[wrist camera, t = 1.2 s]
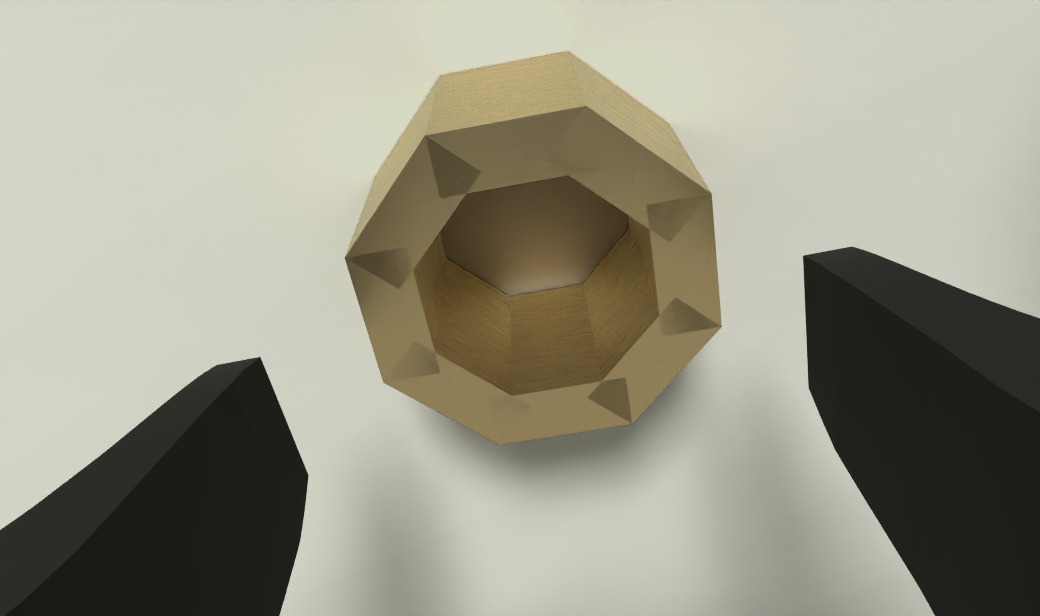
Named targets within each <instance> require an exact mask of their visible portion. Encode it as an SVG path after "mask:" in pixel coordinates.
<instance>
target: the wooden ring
mask: <svg viewBox="0 0 1040 616" xmlns="http://www.w3.org/2000/svg"><path fill="white" fill-rule="evenodd" d="M568 175H569V176H570V177H572V178H573V179H575V180H576V181H578V182H579V183H581V184H582V185H584V186H585V187H587V188H588V189H590V190H591V191H593V192H594V193H596V194H597V195H599V196H600V197H602V198H603V199H605V200H606V201H608V202H609V203H611V204H612V205H614V206H615V207H617V208H618V209H620V210H621V211H623V212H624V213H626V214H627V215H628V220H629V228H628V230H627V231H626V232H625V233H624V234H623V236H622V237H621V238H620V239H619V241H618V242H617V243H616V244H615V246H614V247H613V248H612V249H611V250H610V252H609V253H608V254H607V255H606V257H605V258H604V259H603V260H602V262H601V263H600V264H599V265H598V267H597V268H596V269H595V270H594V271H593V273H592V274H591V275H590V276H589V278H588V279H587V280H586V281H585V283H584V284H581V285H575V286H569V287H563V288H557V289H551V290H545V291H540V292H534V293H528V294H522V295H516V296H508V295H506V294H505V293H503V292H501V291H500V290H498V289H496V288H495V287H493V286H491V285H490V284H488V283H486V282H485V281H483V280H481V279H480V278H478V277H476V276H475V275H473V274H471V273H470V272H468V271H466V270H465V269H463V268H461V267H460V266H458V265H456V264H455V263H453V262H451V261H450V260H448V259H447V257H446V253H445V249H444V245H443V241H442V236H441V232H440V231H441V229H442V228H443V227H444V225H445V224H446V222H447V221H448V219H449V218H450V217H451V215H452V214H453V212H454V211H455V209H456V208H457V207H458V205H459V204H460V202H461V201H462V199H463V198H464V197H465V195H466V194H467V193H473V192H478V191H484V190H489V189H495V188H500V187H506V186H512V185H517V184H523V183H528V182H534V181H540V180H545V179H551V178H556V177H562V176H568ZM345 260H346V263H347V267H348V270H349V273H350V276H351V280H352V283H353V286H354V289H355V292H356V296H357V299H358V302H359V305H360V309H361V312H362V315H363V318H364V321H365V325H366V328H367V331H368V334H369V338H370V341H371V344H372V347H373V350H374V354H375V357H376V360H377V363H378V367H379V370H380V373H381V376H382V379H383V383H385V384H387V385H389V386H391V387H393V388H395V389H396V390H398V391H400V392H402V393H404V394H406V395H408V396H409V397H411V398H413V399H415V400H417V401H419V402H421V403H422V404H424V405H426V406H428V407H430V408H432V409H434V410H435V411H437V412H439V413H441V414H443V415H445V416H447V417H448V418H450V419H452V420H454V421H456V422H458V423H460V424H461V425H463V426H465V427H467V428H469V429H471V430H473V431H475V432H476V433H478V434H480V435H482V436H484V437H486V438H488V439H489V440H491V441H493V442H495V443H497V444H499V445H502V444H508V443H515V442H521V441H527V440H534V439H540V438H546V437H553V436H559V435H565V434H572V433H578V432H584V431H591V430H597V429H603V428H610V427H616V426H622V425H629V424H633V423H634V422H635V420H636V419H637V418H638V417H639V416H640V415H641V414H642V413H643V412H644V411H645V410H646V409H647V407H648V406H649V405H650V404H651V403H652V402H653V401H654V400H655V399H656V398H657V397H658V395H659V394H660V393H661V392H662V391H663V390H664V389H665V388H666V387H667V386H668V385H669V384H670V382H671V381H672V380H673V379H674V378H675V377H676V376H677V375H678V374H679V373H680V372H681V370H682V369H683V368H684V367H685V366H686V365H687V364H688V363H689V362H690V361H691V360H692V359H693V357H694V356H695V355H696V354H697V353H698V352H699V351H700V350H701V349H702V348H703V347H704V345H705V344H706V343H707V342H708V341H709V340H710V339H711V338H712V337H713V336H714V335H715V334H716V332H717V331H718V330H719V329H720V328H721V327H722V325H721V312H720V299H719V286H718V273H717V260H716V247H715V233H714V220H713V207H712V193H711V192H710V190H709V189H708V187H707V185H706V184H705V182H704V180H703V179H702V177H701V175H700V174H699V172H698V170H697V169H696V167H695V165H694V164H693V162H692V161H691V159H690V157H689V156H688V154H687V152H686V151H685V149H684V147H683V146H682V144H681V142H680V141H679V139H678V137H677V136H676V134H675V133H674V131H673V129H672V128H671V126H670V124H669V123H667V122H666V121H664V120H663V119H662V118H660V117H659V116H658V115H656V114H655V113H653V112H652V111H651V110H649V109H648V108H646V107H645V106H644V105H642V104H641V103H639V102H638V101H637V100H635V99H634V98H632V97H631V96H630V95H628V94H627V93H626V92H624V91H623V90H621V89H620V88H619V87H617V86H616V85H614V84H613V83H612V82H610V81H609V80H607V79H606V78H605V77H603V76H602V75H601V74H599V73H598V72H596V71H595V70H594V69H592V68H591V67H589V66H588V65H587V64H585V63H584V62H582V61H581V60H580V59H578V58H577V57H576V56H574V55H573V54H571V53H570V52H569V51H567V52H562V53H557V54H552V55H546V56H541V57H536V58H530V59H525V60H520V61H515V62H509V63H504V64H499V65H493V66H488V67H483V68H477V69H472V70H467V71H462V72H456V73H451V74H446V75H440V77H439V78H438V80H437V81H436V83H435V84H434V86H433V88H432V89H431V91H430V92H429V94H428V95H427V97H426V98H425V100H424V102H423V103H422V105H421V106H420V108H419V109H418V111H417V112H416V114H415V116H414V117H413V119H412V120H411V122H410V123H409V125H408V127H407V128H406V130H405V131H404V133H403V134H402V136H401V137H400V139H399V141H398V142H397V144H396V145H395V147H394V148H393V150H392V151H391V153H390V155H389V156H388V158H387V159H386V161H385V162H384V164H383V165H382V167H381V169H380V170H379V172H378V173H377V175H376V176H375V178H374V181H373V184H372V186H371V189H370V192H369V194H368V197H367V200H366V202H365V205H364V208H363V210H362V213H361V216H360V218H359V221H358V224H357V226H356V229H355V232H354V234H353V237H352V240H351V242H350V245H349V248H348V250H347V253H346V256H345Z"/></svg>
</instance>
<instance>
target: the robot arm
mask: <svg viewBox="0 0 1040 616" xmlns="http://www.w3.org/2000/svg"><path fill="white" fill-rule="evenodd" d="M803 263H804V287H805V310H806V334H807V358H808V382H809V390H810V392H811V394H812V397H813V399H814V402H815V404H816V407H817V409H818V411H819V414H820V416H821V419H822V421H823V423H824V426H825V428H826V430H827V432H828V435H829V437H830V439H831V441H832V444H833V446H834V448H835V450H836V452H837V454H838V455H839V457H840V459H841V460H842V462H843V464H844V465H845V467H846V469H847V470H848V472H849V474H850V475H851V477H852V479H853V480H854V482H855V484H856V485H857V487H858V489H859V490H860V492H861V493H862V495H863V497H864V498H865V500H866V502H867V503H868V505H869V507H870V508H871V510H872V511H873V513H874V515H875V516H876V518H877V519H878V521H879V523H880V524H881V526H882V528H883V529H884V531H885V532H886V534H887V536H888V537H889V539H890V541H891V542H892V544H893V545H894V547H895V549H896V550H897V552H898V554H899V555H900V557H901V558H902V560H903V562H904V563H905V565H906V567H907V568H908V570H909V571H910V573H911V575H912V576H913V578H914V579H915V581H916V583H917V584H918V586H919V588H920V589H921V591H922V593H923V595H924V596H925V598H926V600H927V602H928V604H929V605H930V607H931V609H932V611H933V613H934V614H935V616H1040V319H1039V318H1037V317H1034V316H1031V315H1028V314H1025V313H1022V312H1019V311H1016V310H1013V309H1011V308H1008V307H1005V306H1003V305H1000V304H997V303H995V302H992V301H989V300H987V299H984V298H981V297H979V296H976V295H974V294H971V293H969V292H966V291H964V290H961V289H959V288H956V287H954V286H951V285H949V284H946V283H944V282H942V281H939V280H937V279H934V278H932V277H929V276H927V275H925V274H922V273H920V272H917V271H915V270H913V269H910V268H908V267H905V266H903V265H901V264H898V263H896V262H893V261H891V260H888V259H886V258H883V257H881V256H878V255H876V254H873V253H870V252H867V251H865V250H861V249H858V248H855V247H847V248H842V249H837V250H831V251H826V252H821V253H815V254H810V255H804V256H803ZM307 484H308V473H307V471H306V468H305V466H304V464H303V461H302V459H301V456H300V454H299V451H298V449H297V446H296V444H295V441H294V439H293V436H292V434H291V432H290V429H289V427H288V424H287V422H286V419H285V417H284V414H283V412H282V409H281V407H280V405H279V402H278V400H277V397H276V395H275V392H274V390H273V387H272V385H271V382H270V380H269V377H268V375H267V373H266V370H265V368H264V365H263V363H262V360H261V358H260V357H258V358H252V359H247V360H242V361H236V362H231V363H226V364H220V365H216V366H215V367H213V368H211V369H210V370H208V371H206V372H205V373H203V374H202V375H201V376H199V377H198V378H196V379H195V380H194V381H192V382H191V383H190V384H188V385H187V386H186V387H184V388H183V389H182V390H181V391H179V392H178V393H177V394H176V395H174V396H173V397H172V398H171V399H169V400H168V401H167V402H166V403H164V404H163V405H162V406H161V407H159V408H158V409H157V410H156V411H155V412H153V413H152V414H151V415H150V416H148V417H147V418H146V419H145V420H144V421H142V422H141V423H140V424H139V425H137V426H136V427H135V428H134V429H133V430H131V431H130V432H129V433H128V434H126V435H125V436H124V437H123V438H122V439H120V440H119V441H118V442H117V443H115V444H114V445H113V446H112V447H111V448H109V449H108V450H107V451H106V452H104V453H103V454H102V455H101V456H99V457H98V458H97V459H95V460H94V461H93V462H91V463H90V464H89V465H88V466H86V467H85V468H84V469H82V470H81V471H80V472H78V473H77V474H76V475H74V476H73V477H72V478H71V479H69V480H68V481H67V482H65V483H64V484H63V485H61V486H60V487H59V488H58V489H56V490H55V491H54V492H52V493H51V494H50V495H48V496H47V497H46V498H44V499H43V500H42V501H41V502H39V503H38V504H37V505H35V506H34V507H32V508H31V509H30V510H28V511H27V512H25V513H24V514H23V515H21V516H20V517H18V518H17V519H16V520H14V521H13V522H11V523H10V524H8V525H7V526H5V527H4V528H3V529H1V530H0V616H279V615H280V612H281V608H282V605H283V601H284V598H285V594H286V591H287V587H288V583H289V580H290V576H291V573H292V569H293V566H294V562H295V558H296V555H297V551H298V547H299V543H300V538H301V531H302V524H303V518H304V511H305V502H306V493H307Z"/></svg>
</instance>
